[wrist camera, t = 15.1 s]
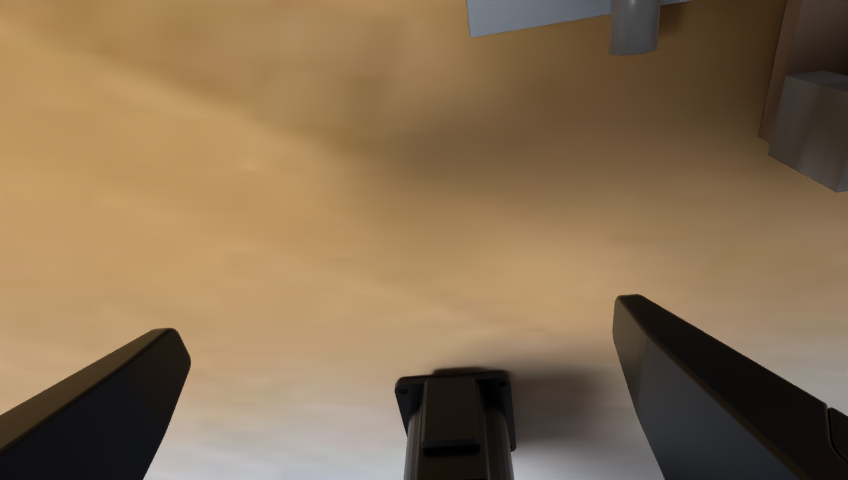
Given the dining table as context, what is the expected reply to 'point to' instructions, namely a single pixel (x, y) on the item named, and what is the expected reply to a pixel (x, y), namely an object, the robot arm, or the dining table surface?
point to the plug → (634, 26)
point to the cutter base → (811, 92)
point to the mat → (531, 13)
